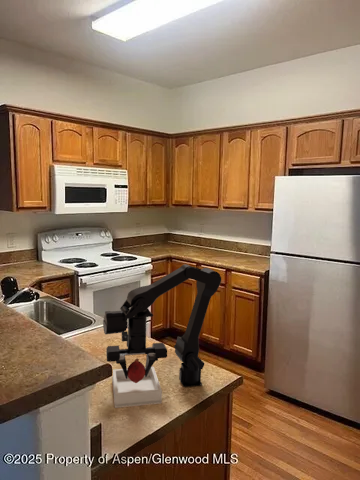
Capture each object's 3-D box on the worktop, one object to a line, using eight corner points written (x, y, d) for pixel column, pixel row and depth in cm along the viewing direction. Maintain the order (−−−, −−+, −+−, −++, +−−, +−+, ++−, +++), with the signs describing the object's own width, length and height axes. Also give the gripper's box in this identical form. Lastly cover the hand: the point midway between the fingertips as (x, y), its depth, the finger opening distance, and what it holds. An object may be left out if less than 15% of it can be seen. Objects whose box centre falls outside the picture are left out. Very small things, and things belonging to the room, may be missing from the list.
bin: (153, 377, 126) (153, 366, 126) (161, 403, 111) (161, 390, 110) (112, 380, 123) (112, 369, 122) (114, 407, 107) (115, 395, 107)
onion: (141, 388, 113) (142, 364, 112) (124, 386, 114) (124, 361, 113) (147, 379, 119) (147, 356, 118) (130, 377, 120) (130, 354, 119)
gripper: (161, 320, 124) (160, 363, 126) (106, 322, 120) (105, 367, 122) (168, 332, 113) (166, 379, 115) (107, 335, 109) (106, 384, 111)
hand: (136, 377), depth 116 cm, fingers closed on onion, 6 cm apart
